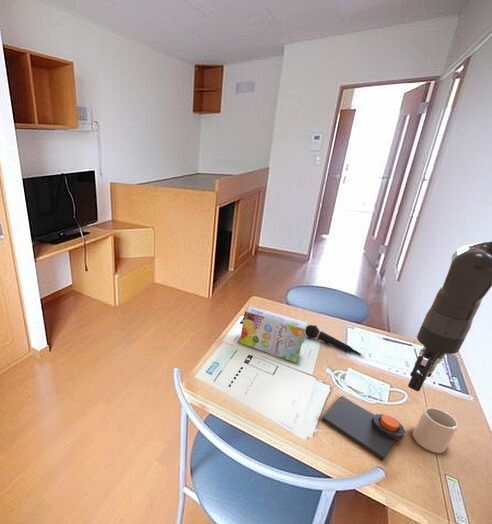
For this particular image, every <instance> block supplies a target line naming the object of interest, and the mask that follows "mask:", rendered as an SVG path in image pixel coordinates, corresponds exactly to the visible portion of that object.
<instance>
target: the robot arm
mask: <svg viewBox="0 0 492 524" xmlns="http://www.w3.org/2000/svg"><path fill="white" fill-rule="evenodd" d="M491 288H492V241H491V240H490V241H485V242H477V243H473V244H469V245H468V244H467V245H464V246H462V247H460V248H458V249H457V250H456V251H455V252H454V253H453V254H452V255H451V259H450V265H449V269H448V272H447V274H446V276H445V279H444V282H443V285H442V286H441V287H440V288H439V289H438V291H437V293H436V295H435V297H434V300H433V302H432V304H431V306H430V308H429V310H428V311H427V312H426V315H425V317H424V319H423V321H422V323H421V326H420V328H419V331H418V333H417V335H416V339H417V341H418V342H419V343H420V344H421V345H422V346H423V347H422V348H421V349H420V350H419V352H418V356H417V359H416V360H415V362H414V367H413V368H412V371H411V372H410V373H409V374H410V377H411V378H410V380H409V382H408V385H407V387H408V388H410V389H412V390H413V391H415V392H420V390H421V389H422V387H423V385H424V383H425V381H426V380H427V379H428V378H430V377H431V376H432V374H433V373H434V371H435V369H436V368H437V366H438V365H440V363H441V362H442V360H444V358H445V356H446V355H454V354H457V353H458V352H460V349H461V347H462V345H463V344H464V342H465V340H466V338H467V336H468V333H469V332H470V330H471V327H472V324H473V320H474V318H475V316H476V314H477V312H478V310H479V308H480V307H481V304H482V301H483V299H484V298H485V296H486V295H487V294H488V293H489V291H490V289H491Z"/></svg>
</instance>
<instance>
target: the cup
mask: <svg viewBox="0 0 492 524" xmlns="http://www.w3.org/2000/svg"><path fill="white" fill-rule="evenodd" d="M458 428H459V422H458V420H456V418H455V417H454V416H452V415H451V414H449V413H448V412H446V411H445V410H443V409H440V408H437V407H433V406H428V407H425V408H424V409H423V411H422V414H421V415H420V417H419V419H418V422H417V423H416V425H415V428H414V430H413V432H412V437H413V439H414V441H415V442H416V443H417V444H418V445H420V446H421V447H422V448H423V449H425V450H427V451H429V452H432V453H436V454H442V453H444V452H445V451H446V449H447V448H448V446H449V444H450V442H451V441H452V439H453V437H454V435H455V434H456V432H457V430H458Z"/></svg>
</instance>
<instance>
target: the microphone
mask: <svg viewBox="0 0 492 524" xmlns="http://www.w3.org/2000/svg"><path fill="white" fill-rule="evenodd" d="M305 335H306V336H307V337H308V338H309V339H317V340H319V341H322V342H323V343H325V344H327V345H331V346H334V347H336V348H339V349H341V350H343V351H345V352H347V353H353V354H354V355H358V356H361V355H362V353H360V352H359V351H357V350H355V349H354V348H353V347H351V346H350V345H348V344H346V343H345V342H343V341H341V340H339V339H337V338H335V337H333V336H331V335H329V334H327V333H326V332H324V331H322V330H320V328H319V327H318V326H317V325H313V324H308V325H307V327H306V331H305Z"/></svg>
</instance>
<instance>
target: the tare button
mask: <svg viewBox="0 0 492 524" xmlns="http://www.w3.org/2000/svg"><path fill="white" fill-rule="evenodd" d="M399 423H400V421H398V420H397V419H396V418H395V417H393V416H391V415H390V414H389V415H388V414H384V415H382V417H381V419H380V424H381V425H382V426H383V427H384V428H385V429H387V430H389V431H392V432H396V431H397V430H398V428H399V426H400V424H401V423H400V424H399Z"/></svg>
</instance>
